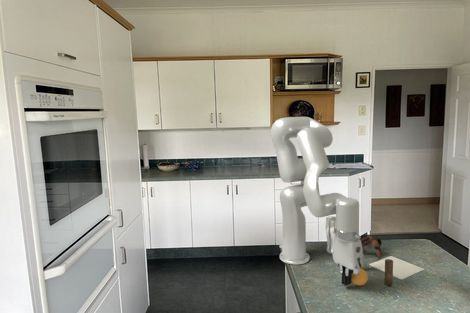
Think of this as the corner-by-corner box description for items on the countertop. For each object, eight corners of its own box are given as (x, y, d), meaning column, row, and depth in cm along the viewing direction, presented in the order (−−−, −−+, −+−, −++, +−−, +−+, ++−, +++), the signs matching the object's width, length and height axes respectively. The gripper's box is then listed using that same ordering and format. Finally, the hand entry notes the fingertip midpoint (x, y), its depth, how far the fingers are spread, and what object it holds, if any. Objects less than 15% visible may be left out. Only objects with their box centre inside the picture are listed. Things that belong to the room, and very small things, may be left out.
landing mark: (369, 264, 129) (369, 264, 129) (391, 256, 135) (391, 255, 135) (401, 279, 117) (401, 279, 117) (424, 269, 123) (424, 269, 123)
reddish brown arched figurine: (377, 261, 132) (366, 243, 133) (360, 263, 140) (350, 246, 141) (392, 247, 139) (381, 230, 140) (375, 249, 147) (365, 233, 148)
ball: (352, 261, 116) (362, 268, 118) (343, 275, 116) (353, 282, 118) (364, 269, 111) (374, 276, 113) (354, 284, 110) (365, 291, 112)
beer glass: (342, 254, 138) (343, 221, 136) (326, 254, 140) (326, 221, 138) (340, 248, 145) (341, 216, 143) (324, 247, 147) (325, 215, 145)
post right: (382, 284, 114) (383, 260, 113) (387, 282, 115) (388, 258, 114) (389, 287, 112) (390, 263, 111) (394, 285, 113) (394, 261, 112)
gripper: (372, 238, 105) (371, 290, 108) (338, 225, 118) (338, 272, 121) (356, 243, 102) (356, 297, 104) (323, 229, 115) (323, 277, 117)
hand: (346, 283), depth 112 cm, fingers closed
